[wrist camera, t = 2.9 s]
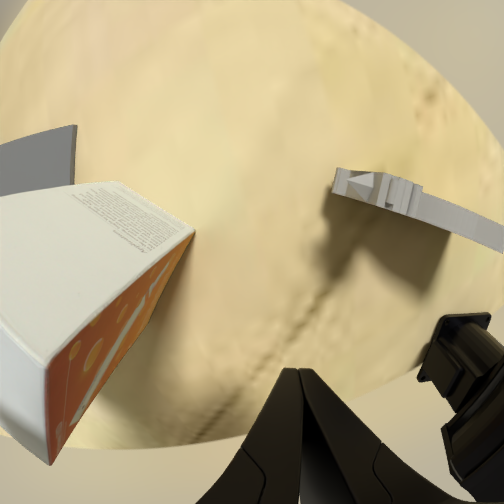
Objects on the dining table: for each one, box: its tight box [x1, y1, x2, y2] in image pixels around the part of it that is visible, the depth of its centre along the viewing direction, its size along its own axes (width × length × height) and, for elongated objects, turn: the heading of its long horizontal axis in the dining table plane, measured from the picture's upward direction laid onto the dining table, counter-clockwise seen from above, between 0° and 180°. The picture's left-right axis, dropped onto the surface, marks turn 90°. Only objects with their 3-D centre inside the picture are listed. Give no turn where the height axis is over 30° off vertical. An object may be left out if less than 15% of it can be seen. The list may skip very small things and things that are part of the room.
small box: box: [0, 181, 195, 466], centre depth 10 cm, size 8×6×13 cm
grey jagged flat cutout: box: [331, 168, 504, 254], centre depth 12 cm, size 6×1×10 cm
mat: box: [0, 125, 77, 197], centre depth 17 cm, size 18×18×1 cm
